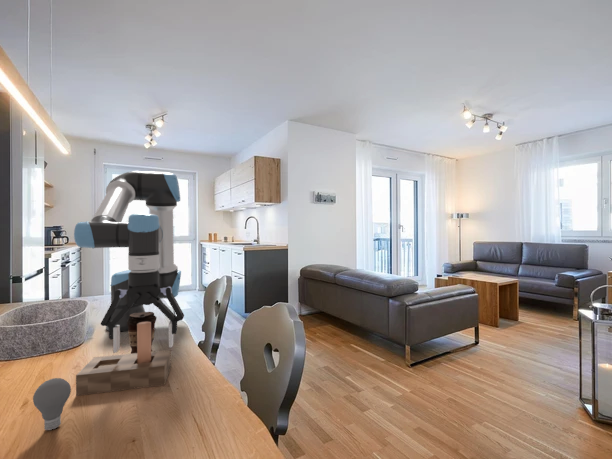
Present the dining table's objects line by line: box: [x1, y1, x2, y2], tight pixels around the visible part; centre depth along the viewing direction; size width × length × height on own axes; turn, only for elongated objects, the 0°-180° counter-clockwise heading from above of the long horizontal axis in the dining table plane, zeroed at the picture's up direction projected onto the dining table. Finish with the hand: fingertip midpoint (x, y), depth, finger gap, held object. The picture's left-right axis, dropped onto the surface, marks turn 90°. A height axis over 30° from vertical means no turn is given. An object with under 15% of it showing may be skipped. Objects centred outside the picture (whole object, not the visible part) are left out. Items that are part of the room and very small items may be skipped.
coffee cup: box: [127, 311, 157, 354], centre depth 101 cm, size 9×8×13 cm
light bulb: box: [32, 377, 72, 431], centre depth 63 cm, size 6×6×10 cm
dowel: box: [137, 322, 151, 364], centre depth 84 cm, size 3×3×14 cm
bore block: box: [75, 349, 172, 397], centre depth 84 cm, size 11×20×5 cm, turn 105°
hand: (144, 348), depth 85 cm, fingers open, 13 cm apart
